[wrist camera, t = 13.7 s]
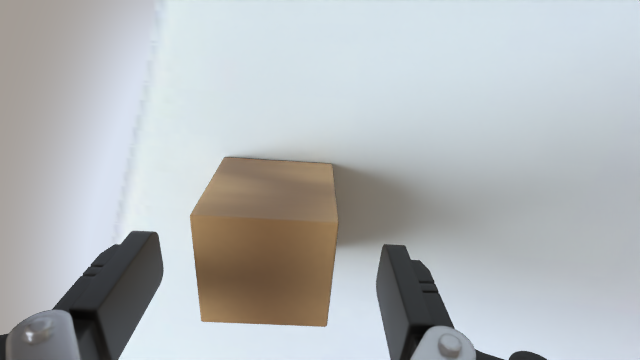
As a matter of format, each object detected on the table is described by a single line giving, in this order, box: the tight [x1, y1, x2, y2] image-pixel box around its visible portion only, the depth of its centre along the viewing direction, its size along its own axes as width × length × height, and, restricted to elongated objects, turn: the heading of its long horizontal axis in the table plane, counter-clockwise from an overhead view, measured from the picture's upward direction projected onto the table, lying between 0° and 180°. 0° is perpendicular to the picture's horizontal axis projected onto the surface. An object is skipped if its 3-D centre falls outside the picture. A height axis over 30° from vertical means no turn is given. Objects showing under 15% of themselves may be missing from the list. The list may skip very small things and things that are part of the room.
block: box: [190, 157, 339, 327], centre depth 14 cm, size 4×4×4 cm
